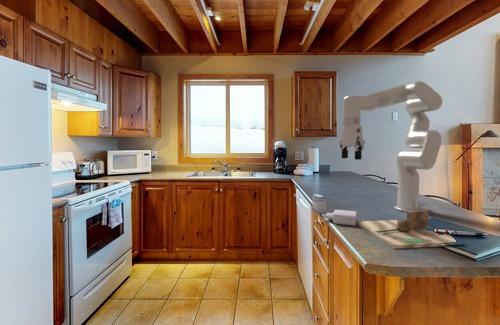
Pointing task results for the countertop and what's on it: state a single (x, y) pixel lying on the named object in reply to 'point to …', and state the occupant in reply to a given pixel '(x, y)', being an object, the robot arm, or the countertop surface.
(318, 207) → the medicine box
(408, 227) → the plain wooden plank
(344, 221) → the charger
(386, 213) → the countertop surface
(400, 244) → the board
